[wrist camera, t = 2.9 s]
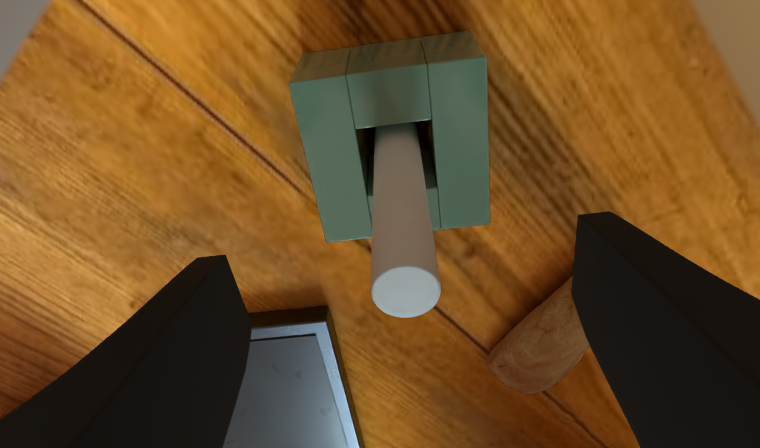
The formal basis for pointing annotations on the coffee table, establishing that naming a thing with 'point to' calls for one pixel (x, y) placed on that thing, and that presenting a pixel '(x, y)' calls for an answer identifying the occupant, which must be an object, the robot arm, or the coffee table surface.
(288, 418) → the tablet
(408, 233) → the gray cylindrical rod
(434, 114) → the pen stand
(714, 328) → the robot arm
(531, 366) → the brown elongated rounded piece
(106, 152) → the coffee table surface
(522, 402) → the coffee table surface
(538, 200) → the coffee table surface
